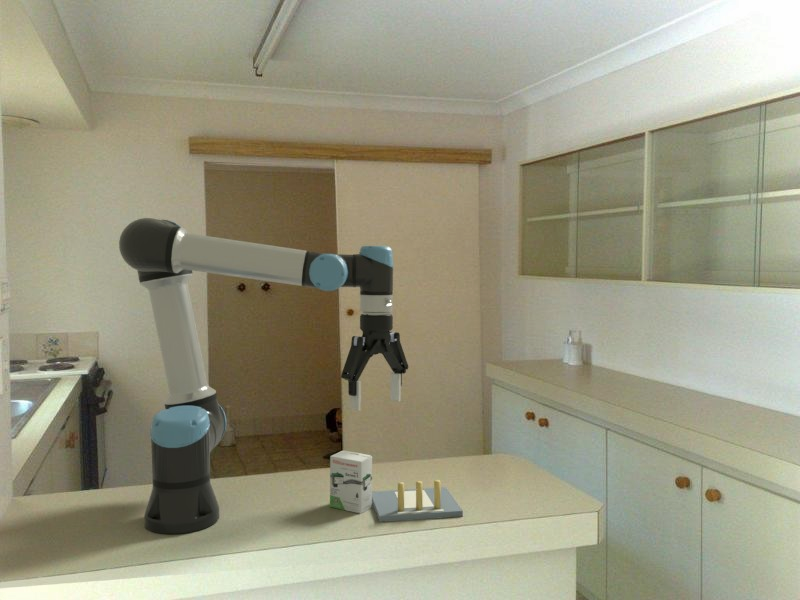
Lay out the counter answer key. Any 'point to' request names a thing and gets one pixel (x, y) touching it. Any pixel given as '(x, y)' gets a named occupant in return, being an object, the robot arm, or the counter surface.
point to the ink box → (351, 481)
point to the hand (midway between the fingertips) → (375, 405)
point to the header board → (415, 503)
